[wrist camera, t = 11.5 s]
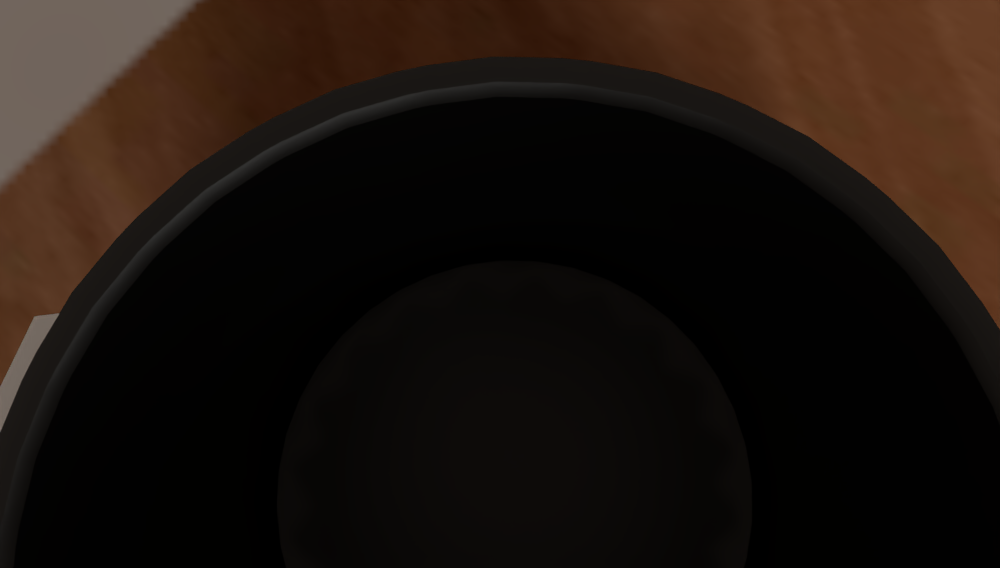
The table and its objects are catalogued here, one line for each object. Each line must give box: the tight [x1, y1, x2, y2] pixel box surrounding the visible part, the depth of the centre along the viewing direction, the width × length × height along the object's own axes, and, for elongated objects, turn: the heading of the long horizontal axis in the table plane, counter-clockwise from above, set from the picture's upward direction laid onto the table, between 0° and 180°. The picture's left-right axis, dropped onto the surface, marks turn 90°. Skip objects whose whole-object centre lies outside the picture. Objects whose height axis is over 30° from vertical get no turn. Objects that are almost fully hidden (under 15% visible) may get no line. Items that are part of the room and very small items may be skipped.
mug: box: [0, 57, 1000, 568], centre depth 12 cm, size 9×12×9 cm
